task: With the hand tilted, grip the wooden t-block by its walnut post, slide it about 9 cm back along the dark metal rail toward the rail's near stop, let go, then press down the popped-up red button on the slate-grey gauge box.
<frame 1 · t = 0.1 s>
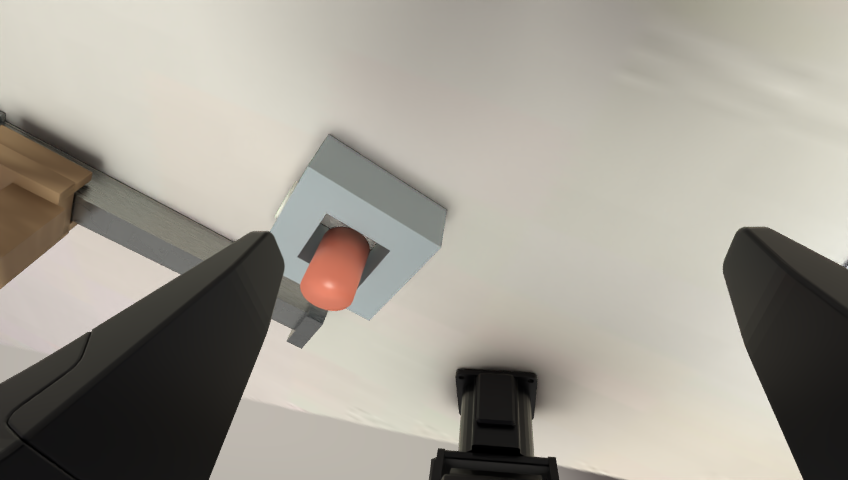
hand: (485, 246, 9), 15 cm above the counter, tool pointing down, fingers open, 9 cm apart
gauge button: (336, 267, 24), point 5 cm above the counter, slide at 0.0 cm
rail: (172, 223, 30), on the counter
gauge box: (357, 217, 27), on the counter
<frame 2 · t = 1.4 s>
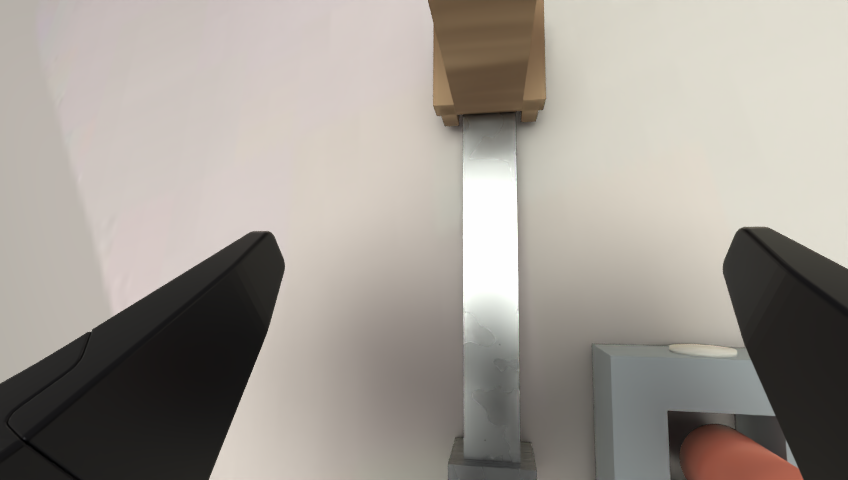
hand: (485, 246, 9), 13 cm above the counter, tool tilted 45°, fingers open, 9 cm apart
rail: (490, 223, 22), on the counter
wooden t-block: (486, 12, 16), point 7 cm above the counter, slide at 0.0 cm
gauge box: (687, 436, 20), on the counter
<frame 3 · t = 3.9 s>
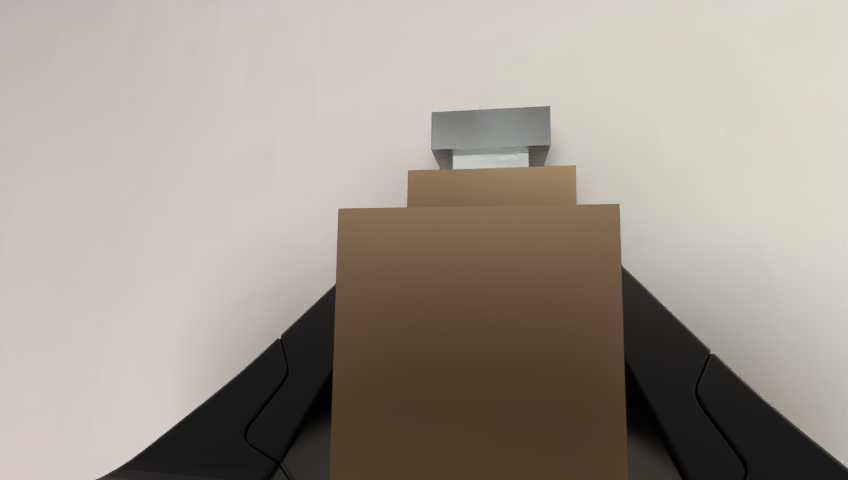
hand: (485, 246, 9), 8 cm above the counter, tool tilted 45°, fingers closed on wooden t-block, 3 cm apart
rail: (491, 466, 15), on the counter
wooden t-block: (486, 254, 10), point 7 cm above the counter, slide at 0.0 cm, touching gripper
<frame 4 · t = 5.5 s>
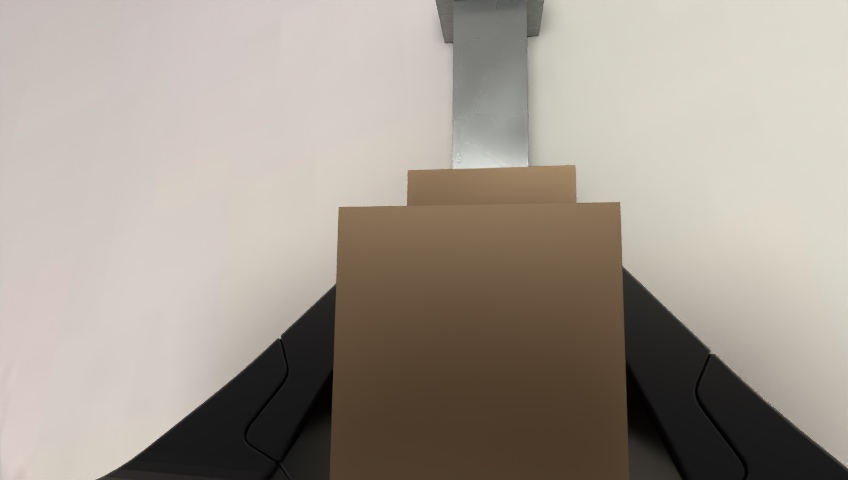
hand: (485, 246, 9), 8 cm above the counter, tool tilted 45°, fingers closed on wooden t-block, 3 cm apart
rail: (491, 313, 16), on the counter
wooden t-block: (486, 253, 10), point 7 cm above the counter, slide at 5.4 cm, touching gripper
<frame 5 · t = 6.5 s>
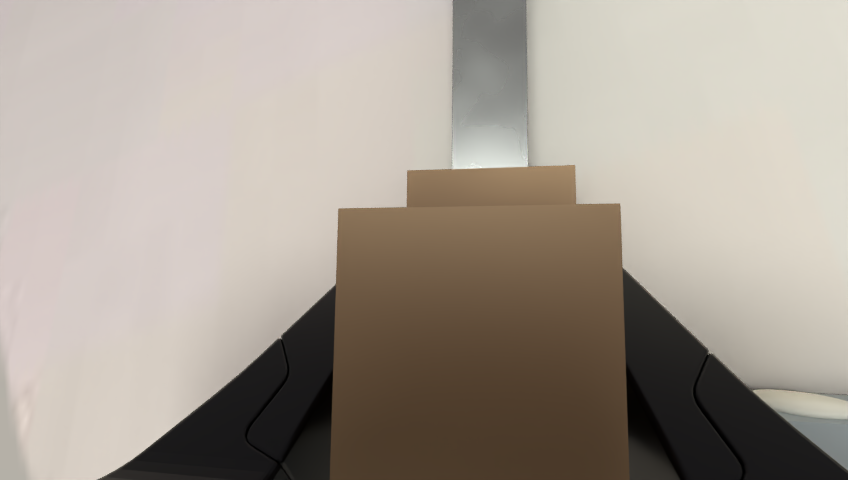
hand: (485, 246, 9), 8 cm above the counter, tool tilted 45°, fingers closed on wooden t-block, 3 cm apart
rail: (490, 217, 16), on the counter
wooden t-block: (486, 254, 10), point 7 cm above the counter, slide at 8.9 cm, touching gripper
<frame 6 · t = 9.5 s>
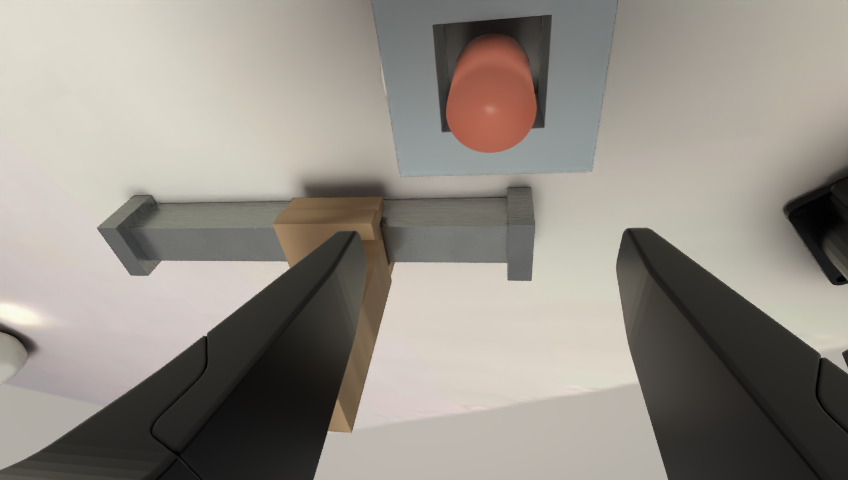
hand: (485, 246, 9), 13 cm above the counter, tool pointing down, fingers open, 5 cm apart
white animal figurine: (5, 336, 40), on the counter
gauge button: (491, 90, 15), point 5 cm above the counter, slide at 0.0 cm
rail: (324, 217, 26), on the counter
wooden t-block: (319, 301, 20), point 7 cm above the counter, slide at 8.9 cm
gauge box: (492, 50, 19), on the counter
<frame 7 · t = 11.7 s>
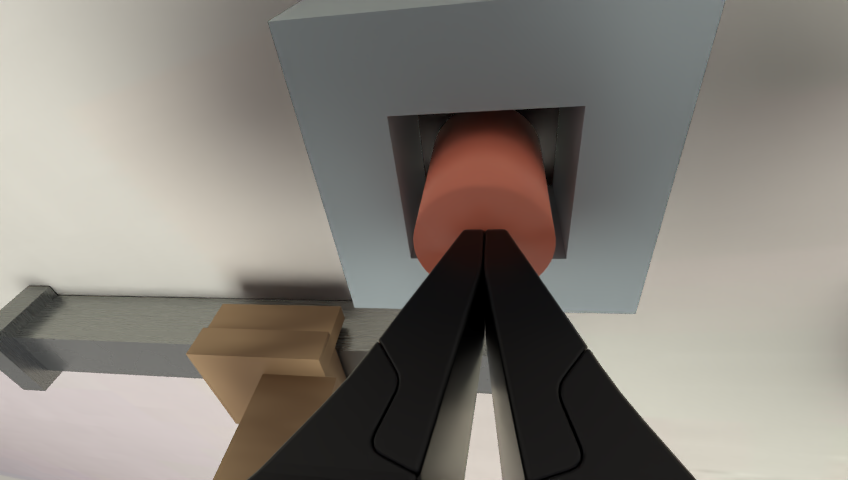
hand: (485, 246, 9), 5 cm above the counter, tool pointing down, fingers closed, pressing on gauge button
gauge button: (484, 194, 10), point 4 cm above the counter, slide at 1.1 cm, touching gripper
rail: (271, 317, 20), on the counter
wooden t-block: (245, 471, 15), point 7 cm above the counter, slide at 8.9 cm
gauge box: (486, 128, 13), on the counter
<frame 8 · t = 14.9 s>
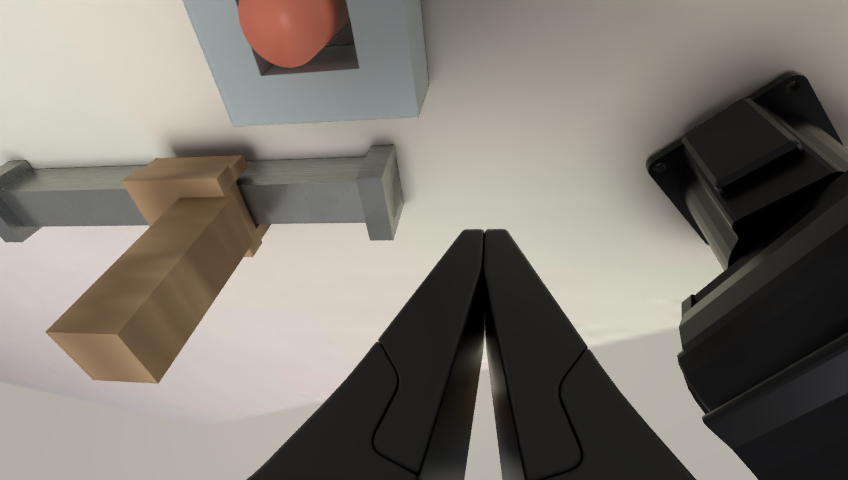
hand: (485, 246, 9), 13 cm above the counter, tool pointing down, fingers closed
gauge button: (299, 11, 16), point 3 cm above the counter, slide at 1.7 cm
rail: (199, 181, 25), on the counter
wooden t-block: (161, 257, 20), point 7 cm above the counter, slide at 8.9 cm
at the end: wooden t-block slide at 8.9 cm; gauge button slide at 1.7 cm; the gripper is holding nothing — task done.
